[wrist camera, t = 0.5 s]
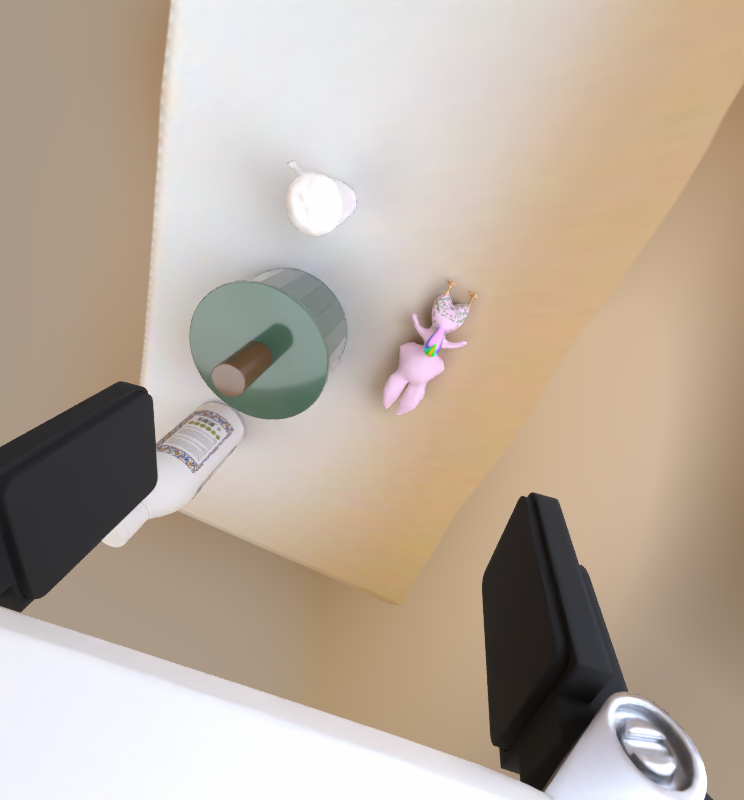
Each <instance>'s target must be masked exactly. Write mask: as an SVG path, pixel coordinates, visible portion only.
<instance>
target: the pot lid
mask: <svg viewBox="0 0 744 800" xmlns="http://www.w3.org/2000/svg"><path fill="white" fill-rule="evenodd" d="M190 347H191V352H192V356H193V359H194V362H195V365H196V367H197V369H198V371H199V373H200V375H201V376H202V378H203V380H204V381H205V382H206V384H207V385H208V387H209V388H210V389H211V390H212V391H213V392H214V393H215V394H216V395H217V396H218V397H219V398H220V399H221V400H223V401H224V402H225V403H227V404H228V405H229V406H231V407H233V408H234V409H236V410H238V411H240V412H242V413H244V414H247V415H250V416H253V417H257V418H262V419H284V418H288V417H292V416H295V415H297V414H299V413H301V412H303V411H305V410H306V409H308V408H309V407H310V406H311V405H312V404H313V403H314V402H315V401H316V400H317V399H318V397H319V396H320V394H321V392H322V391H323V389H324V387H325V385H326V382H327V379H328V375H329V367H330V360H329V351H328V345H327V342H326V339H325V336H324V334H323V332H322V329H321V327H320V326H319V324H318V322H317V320H316V319H315V318H314V316H313V315H312V314H311V312H310V311H309V310H308V309H307V308H306V307H305V306H304V305H303V304H302V303H301V302H300V301H299V300H298V299H296V298H295V297H294V296H293V295H291V294H289V293H288V292H286V291H285V290H283V289H281V288H279V287H276V286H274V285H271V284H268V283H265V282H260V281H253V280H242V281H235V282H230V283H227V284H225V285H222V286H220V287H218V288H216V289H214V290H213V291H211V292H210V293H209V294H208V295H206V296H205V297H204V298H203V300H202V301H201V302H200V303H199V305H198V307H197V308H196V310H195V312H194V315H193V318H192V321H191V326H190Z"/></svg>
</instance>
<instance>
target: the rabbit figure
mask: <svg viewBox="0 0 744 800" xmlns="http://www.w3.org/2000/svg"><path fill="white" fill-rule="evenodd" d="M448 283H449V288H448V290H447V291H446V292H445V293H443V294H441V295H440V296H438V297H437V299H436V300H435V302H434V304H433V307H432V326H431V327H430V328H428V329H424V328H423V327H422V326H421V325H420V324H419V322H418V317H417V314H415V313H414V314H412V320H413V323H414V326H415V328H416V330H417V331H418V333H419V335H420V336H421V337H422V338H423V340H424V345H419V344H417V343H414V342H409V343H405V344H403V345H401V346H400V354H399V366H398V369H397V370H396V371H395V372H394V373H393V374H391V375H390V377H389V378H388V380H387V382H386V385H385V388H384V392H383V405H384V408H385V409H387V408H388V407H389V406H390V405H391V404H393V403H394V402H395V401H396V399H397V398H398V397H399V395H400V394H401V392H402V391H403V389H404V387H405V386H406V384H407V383H409V386H408V387H407V389H406V391H405V393H404V394H403V396H402V398H401V400H400V403H399V406H398V409H397V412H396V414H397V415H401V414H405V413H407V412H410V411H411V410H413V409H414V408H415V407H416V406H417V405H418V404H419V403H420V401H421V400H422V398H423V397H424V395H425V387H426V384H427V383H428V382H429V381H430V380H431V379H433V378H434V377H435V376H437V375H438V374H440V373H441V372H443V370H444V363H443V361H442V359H441V357H440V356H438V355H437V353H438V352H439V350H440V348H458V347H463V346H465V345H467V342H466V341H464V340H463V341H460V342H458V343H452V342H448V341H447V340H446V338H445V334H447V333H449V332H452V331H455V330H456V329H458V328H459V327H460V326H461V325H462V324H463V323H464V322H465V320H466V318H467V316H468V314H469V310H470V306H471V303H472V301H473V300H474V298H476V297H477V296H478V295H476V294H474V293H470V291H469V294H470V295H471V300H470V301H469V302H468V303H466V304H456V305H453V304H452V300H451V298H450V295H449V290H450V288H451V287H452V286H453V285H457V284H455V283H454V282H453V281H450V280H449V279H448Z"/></svg>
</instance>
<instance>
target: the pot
mask: <svg viewBox="0 0 744 800" xmlns="http://www.w3.org/2000/svg"><path fill="white" fill-rule="evenodd" d="M249 280H253V281H260V282H265V283H268V284H271V285H274V286H276V287H279V288H281V289H283V290H285V291H286V292H288V293H289V294H291V295H293V296H294V297H295V298H296V299H298V300H299V301H300V302H301V303H302V304H303V305H304V306H305V307H306V308H307V309H308V310H309V311H310V312H311V314H312V315H313V316H314V318H315V319H316V320H317V322H318V324H319V326H320V327H321V329H322V332H323V334H324V336H325V339H326V342H327V345H328V351H329V360H330V367H329V373H330V372H331V370H332V369H333V367H334V366H335V365H336V363H337V361H338V360H339V358H340V356H341V355H342V353H343V351H344V348H345V344H346V338H347V324H346V319H345V315H344V312H343V309H342V307H341V305H340V303H339V301H338V299H337V298H336V296H335V295H334V294H333V292H332V291H331V290H330V289H329V288H328V287H327V286H326V285H325V284H324V283H323V282H322V281H320V280H319V279H317V278H316V277H314V276H312V275H310V274H308V273H306V272H303V271H300V270H296V269H290V268H281V269H274V270H269V271H267V272H265V273H262V274H260V275H258V276H256V277H254V278H252V279H249Z"/></svg>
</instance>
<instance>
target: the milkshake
mask: <svg viewBox="0 0 744 800" xmlns="http://www.w3.org/2000/svg"><path fill="white" fill-rule="evenodd" d="M288 164H289V165H290V166H291V167H292V168H293V169H294V170H295V171H296V172H297V173H298V174H299V175H300V176H299V177H297V178H296V179H295V180H294V181H293V182H292V183H291V185H290V187H289V189H288V192H287V196H286V208H287V212H288V216H289V218H290V221H291V222H292V224H293V225H294V227H295V228H296V229H297V230H298V231H300V232H302V233H304V234H306V235H309V236H314V237H318V236H323V235H326V234H328V233H329V232H331V231H332V230H333V229H334V228H335V227H337V226H338V225H339V224H340V223H341V222H342V221H344V220H345V219H346V218H348V217H349V216H350V215H352V214H353V213H354V210H355V206H356V203H357V201H356V197H355V194H354V190H353V189H352V188H350V187H349V186H348V185H347V184H346V183H344V182H341V181H338V180H335V179H331V178H329V177H326V176H324V175H322V174H320V173H314V172H311V173H305V172H304V171H303V170H302V169H301V168H300V167H299V166H298V165H297V164H296V163H295V162H294V161H290V162H288Z"/></svg>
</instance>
